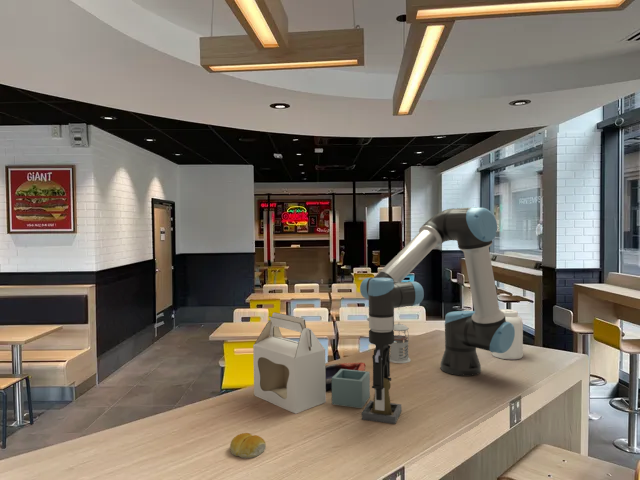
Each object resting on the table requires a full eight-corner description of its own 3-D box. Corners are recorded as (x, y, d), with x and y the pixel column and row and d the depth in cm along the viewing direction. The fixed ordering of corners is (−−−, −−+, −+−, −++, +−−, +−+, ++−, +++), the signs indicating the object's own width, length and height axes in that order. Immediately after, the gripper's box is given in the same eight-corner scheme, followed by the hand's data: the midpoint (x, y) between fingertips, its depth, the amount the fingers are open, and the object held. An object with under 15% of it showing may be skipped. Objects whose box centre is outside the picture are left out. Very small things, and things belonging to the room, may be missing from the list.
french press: (383, 360, 193) (382, 301, 192) (397, 354, 202) (397, 298, 201) (403, 364, 187) (403, 304, 186) (417, 358, 196) (416, 300, 195)
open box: (369, 396, 152) (369, 371, 152) (362, 408, 143) (361, 381, 142) (341, 393, 155) (341, 368, 155) (331, 404, 146) (331, 378, 146)
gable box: (253, 395, 155) (252, 313, 154) (283, 385, 164) (282, 308, 163) (296, 414, 139) (294, 323, 138) (326, 402, 148) (325, 317, 147)
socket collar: (401, 410, 140) (401, 404, 140) (395, 424, 131) (395, 417, 131) (369, 406, 144) (369, 400, 144) (361, 419, 134) (361, 412, 134)
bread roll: (244, 440, 123) (244, 425, 122) (270, 448, 118) (270, 433, 118) (222, 453, 116) (222, 437, 115) (249, 462, 111) (248, 446, 111)
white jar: (519, 352, 202) (519, 308, 201) (525, 361, 190) (525, 313, 189) (489, 351, 205) (489, 307, 204) (493, 359, 193) (493, 312, 192)
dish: (287, 385, 165) (286, 371, 165) (353, 369, 182) (353, 357, 182) (310, 398, 152) (310, 383, 152) (379, 380, 169) (379, 366, 169)
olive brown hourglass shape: (391, 419, 134) (391, 382, 133) (371, 418, 135) (370, 381, 135) (392, 411, 140) (392, 376, 139) (372, 410, 141) (372, 375, 141)
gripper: (376, 322, 146) (376, 393, 147) (361, 335, 129) (362, 416, 130) (399, 324, 144) (399, 396, 145) (387, 337, 127) (388, 419, 127)
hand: (381, 405), depth 137 cm, fingers open, 5 cm apart
